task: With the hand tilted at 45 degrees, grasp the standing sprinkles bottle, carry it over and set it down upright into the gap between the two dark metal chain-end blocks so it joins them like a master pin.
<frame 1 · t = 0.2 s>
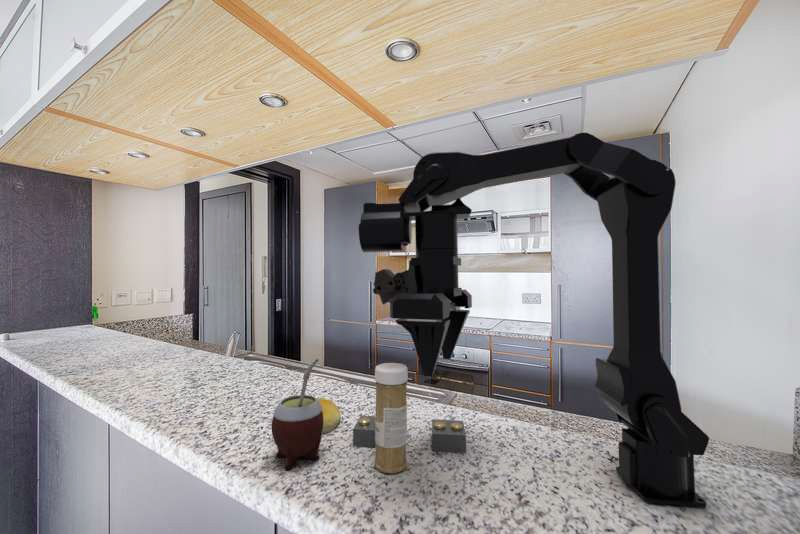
hand: (438, 366, 43), 14 cm above the countertop, tool pointing down, fingers open, 9 cm apart
bread roll: (315, 426, 57), on the countertop
sprinkles bottle: (390, 467, 44), on the countertop
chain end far: (372, 438, 51), on the countertop
mate gourd: (299, 461, 45), on the countertop
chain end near: (448, 443, 50), on the countertop
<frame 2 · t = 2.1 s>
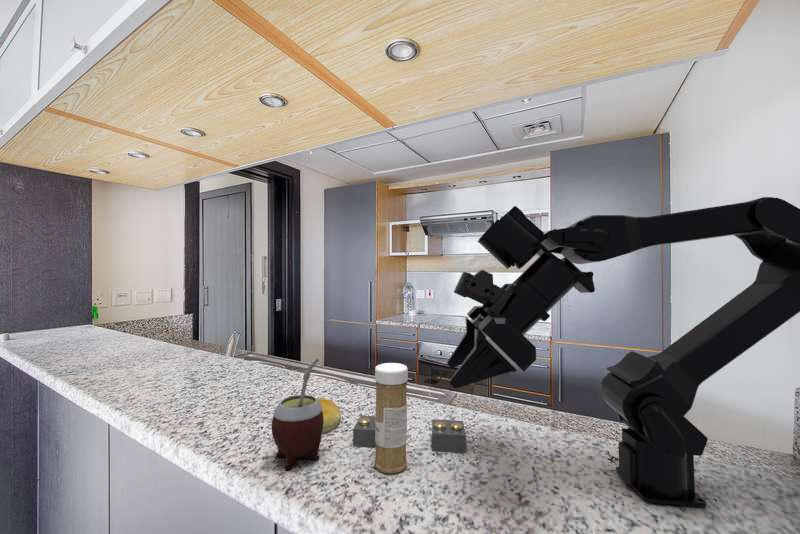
hand: (450, 374, 44), 13 cm above the countertop, tool tilted 45°, fingers open, 9 cm apart
nothing on the countertop moved.
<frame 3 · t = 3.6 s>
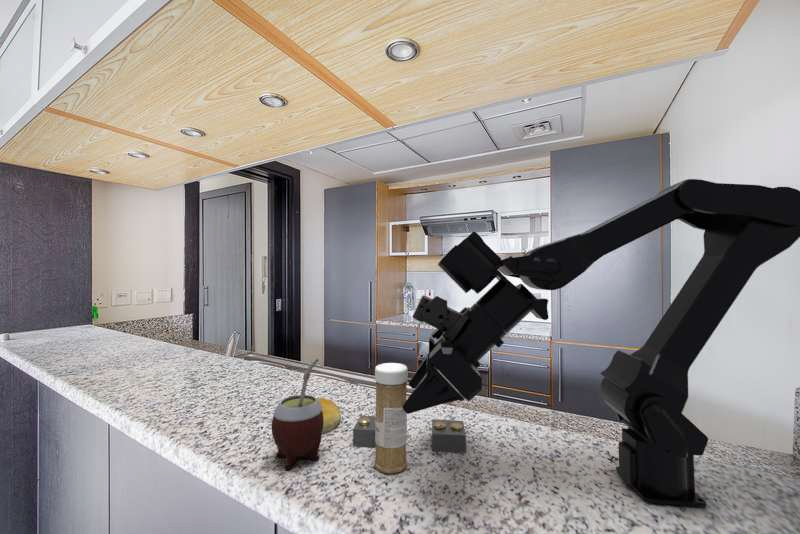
hand: (407, 397, 44), 9 cm above the countertop, tool tilted 45°, fingers open, 9 cm apart
nothing on the countertop moved.
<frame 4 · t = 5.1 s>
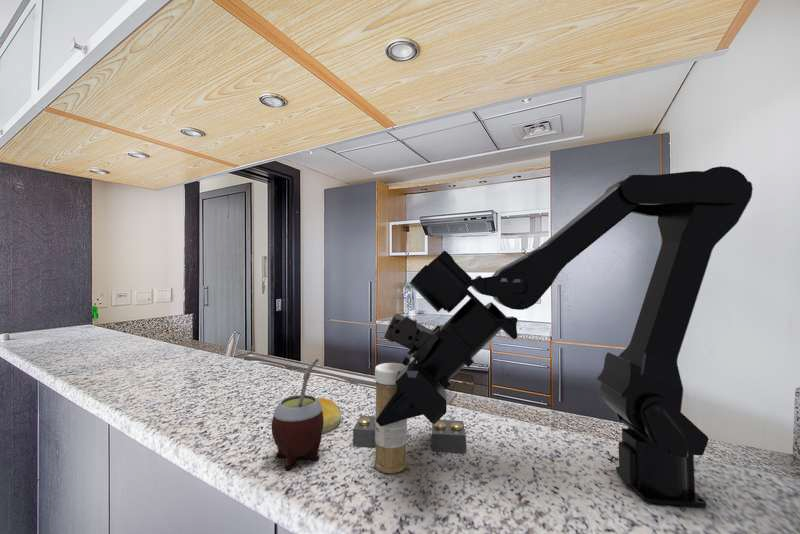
hand: (381, 415, 44), 7 cm above the countertop, tool tilted 45°, fingers closed on sprinkles bottle, 4 cm apart
sprinkles bottle: (390, 467, 44), on the countertop, touching gripper
everything else where it was.
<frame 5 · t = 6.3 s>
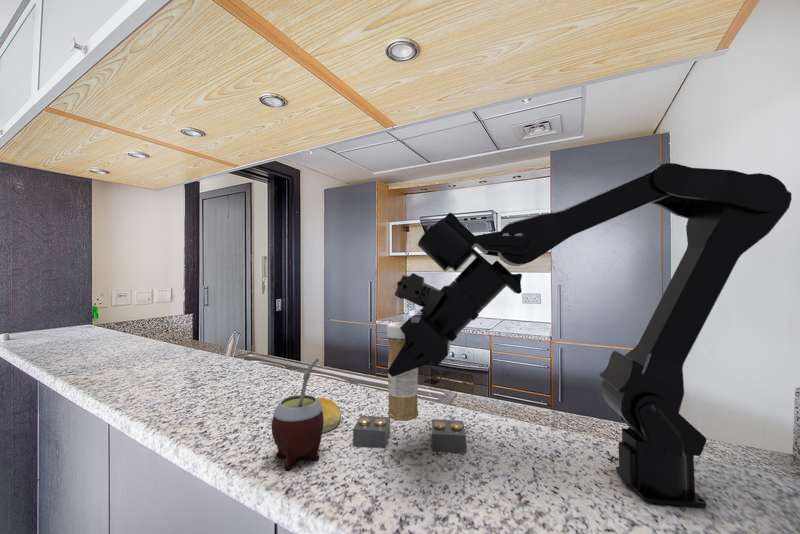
hand: (393, 369, 48), 12 cm above the countertop, tool tilted 45°, fingers closed on sprinkles bottle, 4 cm apart
sprinkles bottle: (403, 417, 47), point 5 cm above the countertop, touching gripper
everything else where it was.
when the fingers open (8 cm above the countertop, at t = 8.1 s): sprinkles bottle stays where it is, on the countertop.
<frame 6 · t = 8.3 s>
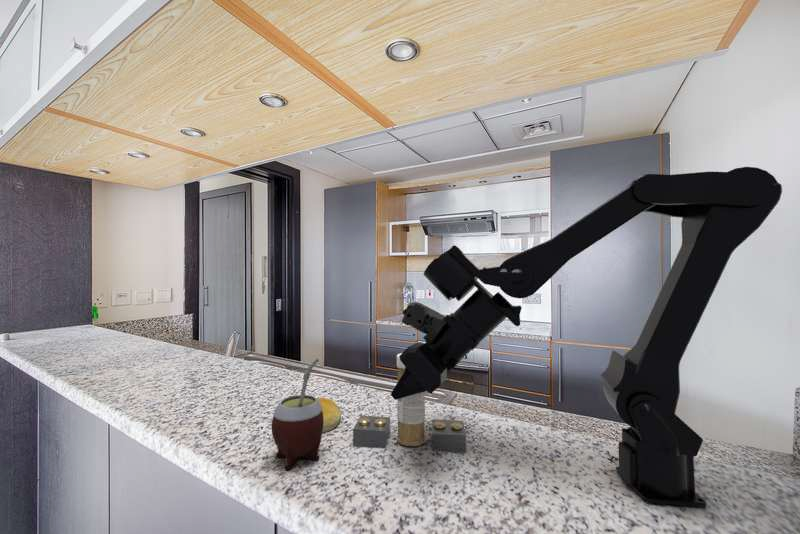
hand: (401, 389, 52), 8 cm above the countertop, tool tilted 45°, fingers open, 7 cm apart
sprinkles bottle: (411, 442, 51), on the countertop
everything else where it was.
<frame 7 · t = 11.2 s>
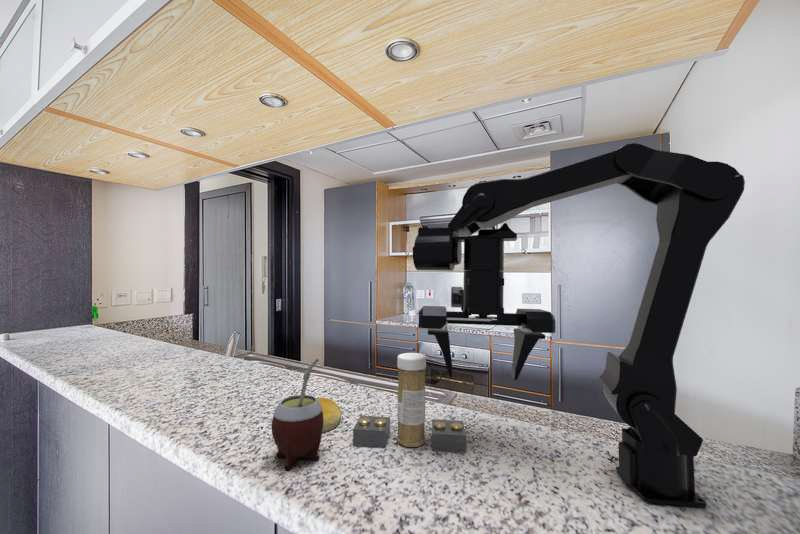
hand: (482, 377, 47), 11 cm above the countertop, tool pointing down, fingers open, 9 cm apart
nothing on the countertop moved.
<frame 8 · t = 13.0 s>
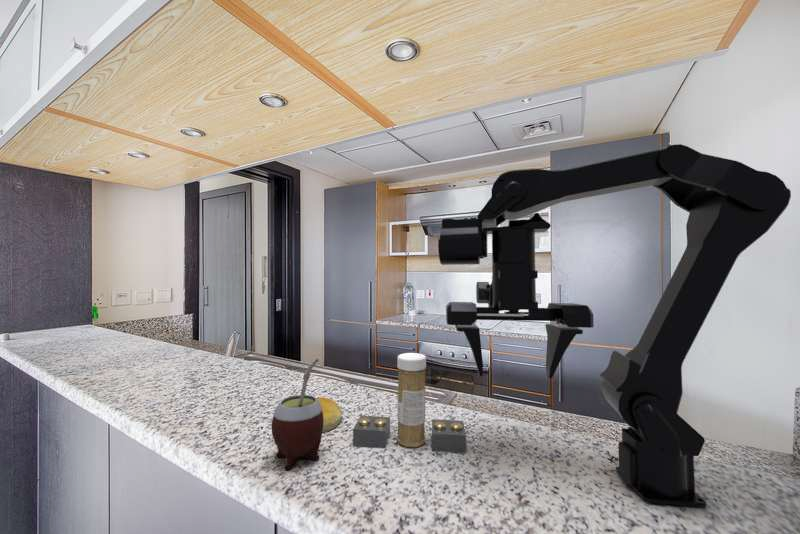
hand: (514, 376, 45), 12 cm above the countertop, tool pointing down, fingers open, 9 cm apart
nothing on the countertop moved.
at the end: sprinkles bottle 0.3 cm from the target spot, on the countertop; sprinkles bottle tilted 0°; the gripper is holding nothing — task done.
